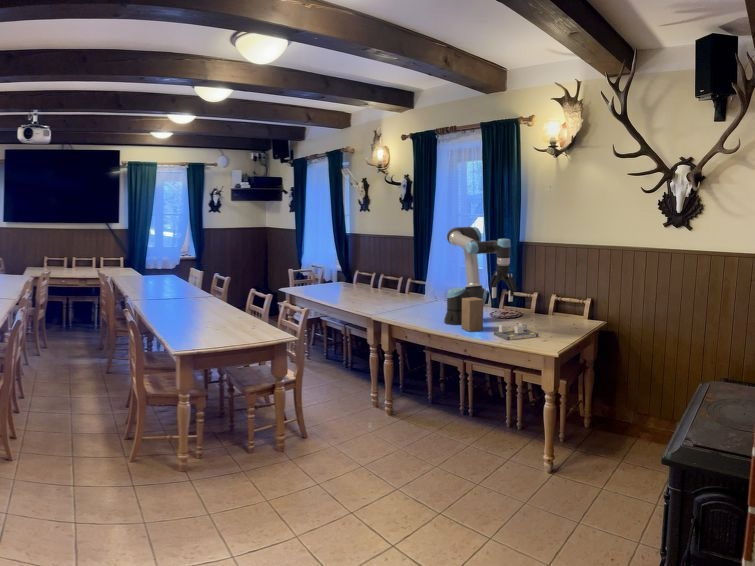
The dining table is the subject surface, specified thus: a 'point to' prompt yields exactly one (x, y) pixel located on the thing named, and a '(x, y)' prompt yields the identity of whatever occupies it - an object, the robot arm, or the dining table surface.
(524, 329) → the slider
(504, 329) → the slider
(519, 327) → the slider
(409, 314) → the dining table surface
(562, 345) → the dining table surface
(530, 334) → the console
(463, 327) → the wooden block
